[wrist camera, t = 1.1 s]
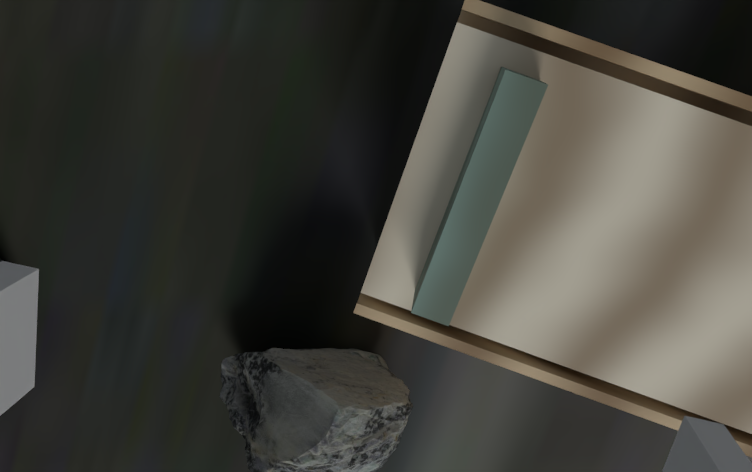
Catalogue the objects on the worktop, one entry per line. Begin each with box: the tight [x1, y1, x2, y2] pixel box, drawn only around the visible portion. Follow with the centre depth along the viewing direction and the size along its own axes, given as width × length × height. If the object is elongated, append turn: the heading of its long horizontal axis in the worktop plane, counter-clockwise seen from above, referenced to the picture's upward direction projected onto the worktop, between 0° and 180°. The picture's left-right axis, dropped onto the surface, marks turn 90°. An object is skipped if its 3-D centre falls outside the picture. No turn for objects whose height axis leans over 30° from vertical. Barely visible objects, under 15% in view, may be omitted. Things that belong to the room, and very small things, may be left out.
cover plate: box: [361, 22, 752, 434], centre depth 26 cm, size 22×12×4 cm, turn 72°
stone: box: [220, 348, 413, 472], centre depth 38 cm, size 10×10×10 cm
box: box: [353, 0, 752, 457], centre depth 31 cm, size 22×14×10 cm, turn 72°
